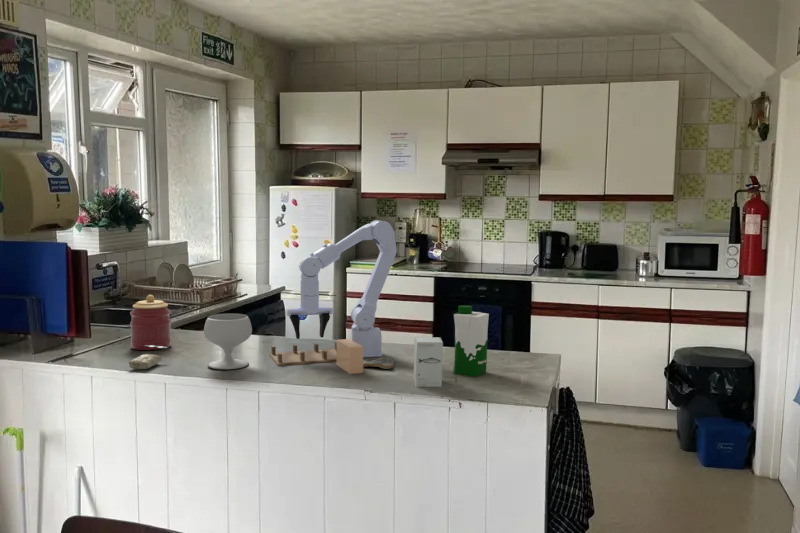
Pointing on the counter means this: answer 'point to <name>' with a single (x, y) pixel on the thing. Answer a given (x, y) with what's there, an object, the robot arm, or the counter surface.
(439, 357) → the supplement box
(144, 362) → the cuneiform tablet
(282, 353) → the comb rack
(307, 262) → the robot arm
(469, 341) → the milk carton
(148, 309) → the canister
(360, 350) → the tan rectangular block
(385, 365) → the ceramic fragment
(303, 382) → the counter surface
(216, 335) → the chalice
